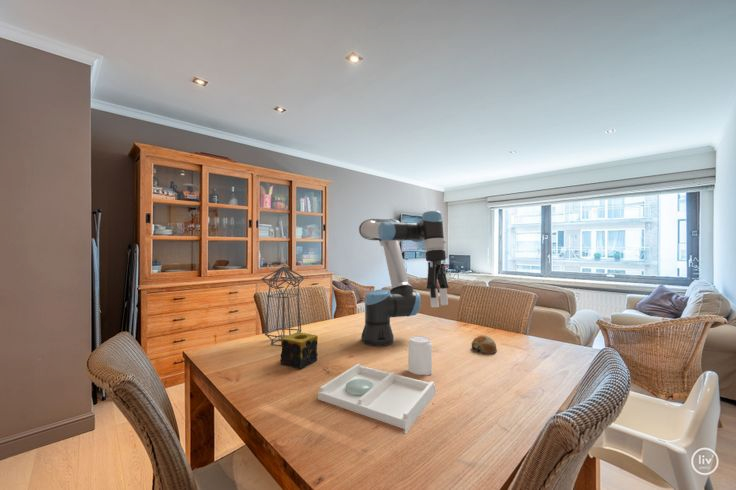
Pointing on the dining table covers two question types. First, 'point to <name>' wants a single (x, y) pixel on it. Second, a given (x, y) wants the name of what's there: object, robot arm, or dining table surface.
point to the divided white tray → (381, 396)
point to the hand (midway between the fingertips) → (440, 306)
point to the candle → (299, 350)
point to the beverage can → (420, 355)
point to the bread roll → (484, 344)
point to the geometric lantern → (286, 270)
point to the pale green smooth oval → (358, 387)
